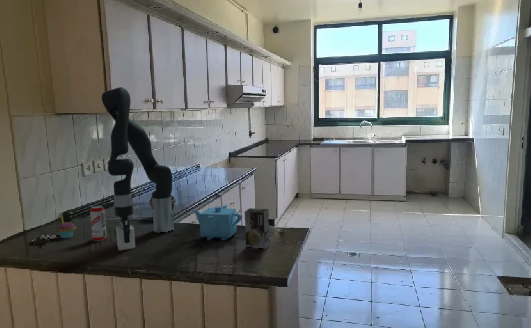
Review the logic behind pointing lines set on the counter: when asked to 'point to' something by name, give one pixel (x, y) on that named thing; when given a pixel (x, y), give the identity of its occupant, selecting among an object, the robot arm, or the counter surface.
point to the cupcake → (66, 229)
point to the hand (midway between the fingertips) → (125, 240)
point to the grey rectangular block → (120, 239)
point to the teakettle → (218, 222)
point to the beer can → (98, 223)
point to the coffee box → (257, 228)
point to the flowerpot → (171, 203)
